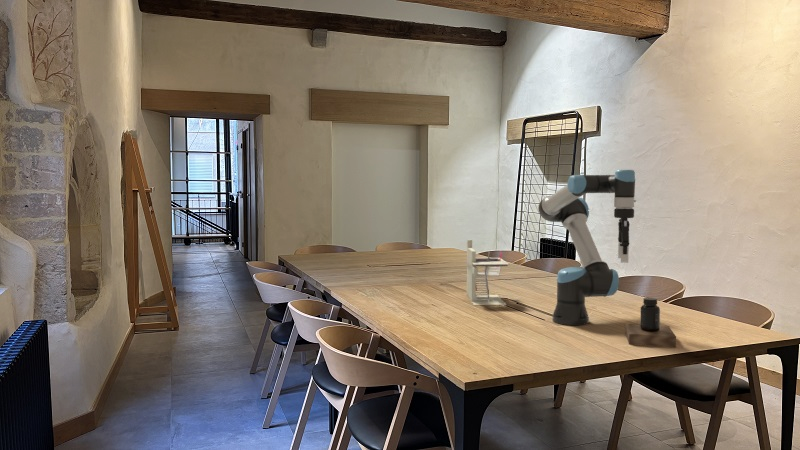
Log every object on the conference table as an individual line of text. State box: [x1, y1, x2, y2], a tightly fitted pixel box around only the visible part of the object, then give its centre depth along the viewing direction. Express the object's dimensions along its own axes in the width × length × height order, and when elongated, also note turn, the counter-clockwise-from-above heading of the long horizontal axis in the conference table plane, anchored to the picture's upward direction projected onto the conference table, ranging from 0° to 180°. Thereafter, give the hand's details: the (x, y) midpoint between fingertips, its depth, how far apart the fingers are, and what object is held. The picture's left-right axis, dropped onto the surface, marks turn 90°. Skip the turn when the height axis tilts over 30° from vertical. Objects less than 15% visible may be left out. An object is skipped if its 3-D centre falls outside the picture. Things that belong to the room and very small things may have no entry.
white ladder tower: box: [466, 239, 510, 306], centre depth 303 cm, size 27×18×30 cm
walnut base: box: [624, 323, 677, 348], centre depth 225 cm, size 16×16×4 cm
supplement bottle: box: [639, 297, 661, 332], centre depth 224 cm, size 7×7×12 cm
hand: (622, 260), depth 239 cm, fingers open, 13 cm apart
